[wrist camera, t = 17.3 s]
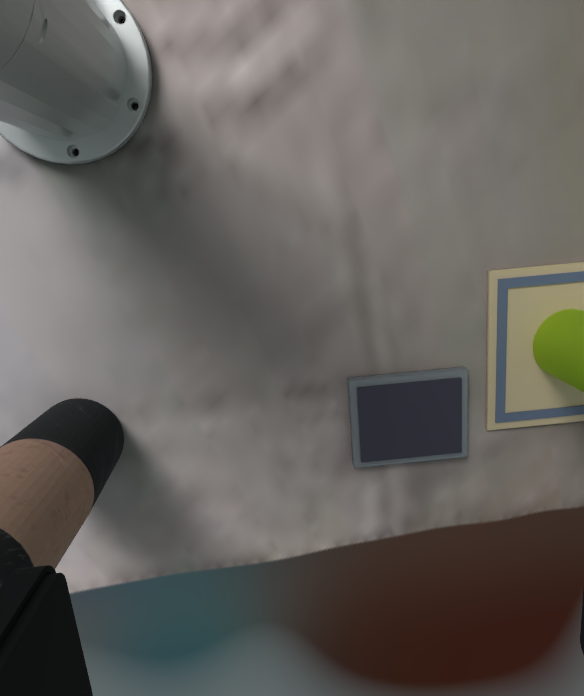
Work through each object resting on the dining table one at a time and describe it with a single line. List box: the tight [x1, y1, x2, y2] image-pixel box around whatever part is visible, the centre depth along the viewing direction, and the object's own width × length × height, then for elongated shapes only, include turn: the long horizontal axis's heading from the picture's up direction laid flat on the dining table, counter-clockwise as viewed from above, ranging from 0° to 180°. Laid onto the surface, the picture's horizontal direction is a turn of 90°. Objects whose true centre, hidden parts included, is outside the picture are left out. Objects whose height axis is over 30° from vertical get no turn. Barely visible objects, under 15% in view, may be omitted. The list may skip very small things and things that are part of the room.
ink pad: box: [348, 367, 468, 468], centre depth 44 cm, size 8×10×1 cm
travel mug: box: [0, 399, 124, 587], centre depth 34 cm, size 8×8×20 cm
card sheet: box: [486, 262, 584, 431], centre depth 43 cm, size 14×14×1 cm
